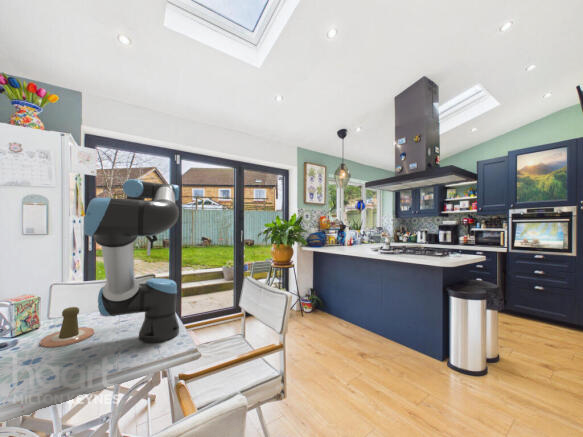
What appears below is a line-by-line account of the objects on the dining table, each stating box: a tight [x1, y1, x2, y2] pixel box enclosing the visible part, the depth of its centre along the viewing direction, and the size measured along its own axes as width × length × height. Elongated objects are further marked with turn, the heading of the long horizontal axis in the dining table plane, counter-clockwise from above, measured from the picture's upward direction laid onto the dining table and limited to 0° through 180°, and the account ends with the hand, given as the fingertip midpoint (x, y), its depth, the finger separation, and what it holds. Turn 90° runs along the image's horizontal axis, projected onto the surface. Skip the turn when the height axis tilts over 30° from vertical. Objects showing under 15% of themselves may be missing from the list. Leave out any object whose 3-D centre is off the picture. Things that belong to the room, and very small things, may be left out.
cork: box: [59, 306, 80, 339], centre depth 97 cm, size 6×6×11 cm
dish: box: [39, 326, 95, 348], centre depth 97 cm, size 16×16×1 cm
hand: (132, 256), depth 114 cm, fingers open, 13 cm apart
